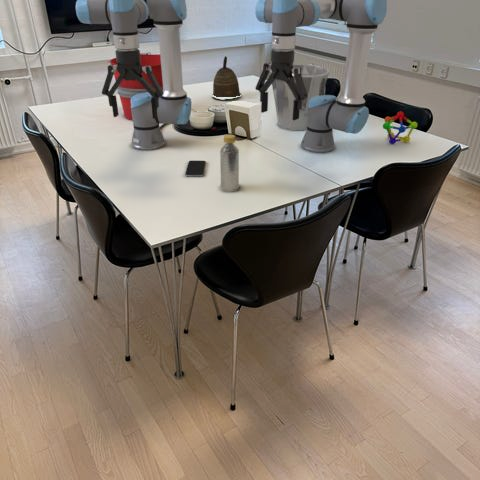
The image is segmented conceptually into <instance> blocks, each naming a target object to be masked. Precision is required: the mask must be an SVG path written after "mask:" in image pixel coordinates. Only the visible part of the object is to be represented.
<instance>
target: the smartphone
mask: <svg viewBox="0 0 480 480" xmlns="http://www.w3.org/2000/svg"><path fill="white" fill-rule="evenodd" d="M206 163H207V161H206V160H189V161H188V163H187V166H186V170H185V174H184V175H185V177H203V176H204V174H205V169H206Z"/></svg>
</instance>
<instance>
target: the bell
mask: <svg viewBox="0 0 480 480" xmlns="http://www.w3.org/2000/svg"><path fill="white" fill-rule="evenodd" d="M227 63H228V57H227V56H224V58H223V63H222V67H221V68H219V69H218V70H217V71H216V73H215V75H214V78H213V81H212V83H213V84H212V95H214V96H216V97H236V96H240V95H241V96H242V93H241V92H240V83H239V80H238V79H239V78H238V77H237V75H236V73H235V72H234V70H232V69H231V68H230V67H227Z"/></svg>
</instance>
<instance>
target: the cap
mask: <svg viewBox="0 0 480 480" xmlns="http://www.w3.org/2000/svg"><path fill="white" fill-rule="evenodd" d="M223 142H224V144H226V143H233V144H234V143H235V142H236V136H235V135H234V134H225V135H224V136H223Z"/></svg>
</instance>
